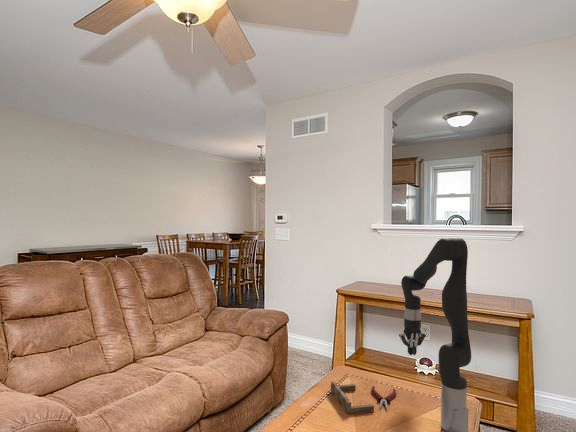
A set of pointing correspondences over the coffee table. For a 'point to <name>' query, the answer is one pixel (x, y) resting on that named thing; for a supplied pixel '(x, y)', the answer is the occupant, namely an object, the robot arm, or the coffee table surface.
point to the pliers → (386, 399)
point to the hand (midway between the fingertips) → (412, 354)
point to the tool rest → (345, 402)
